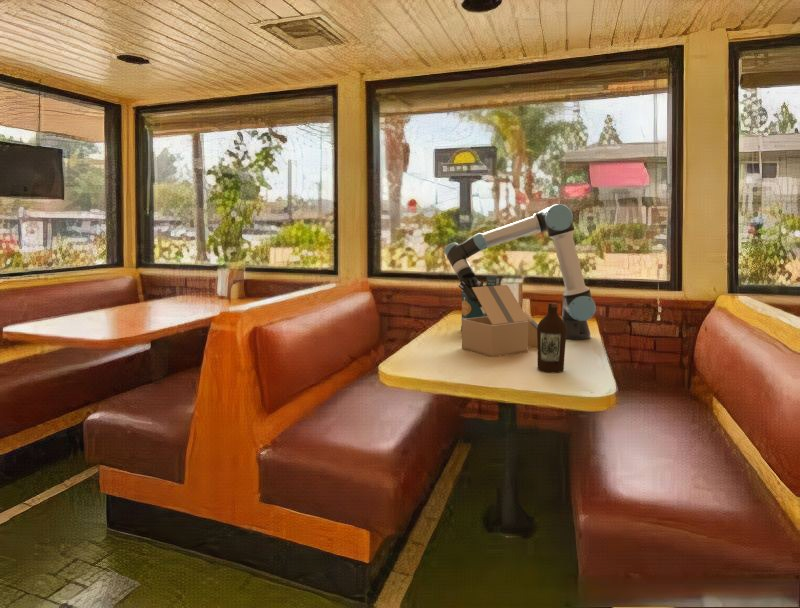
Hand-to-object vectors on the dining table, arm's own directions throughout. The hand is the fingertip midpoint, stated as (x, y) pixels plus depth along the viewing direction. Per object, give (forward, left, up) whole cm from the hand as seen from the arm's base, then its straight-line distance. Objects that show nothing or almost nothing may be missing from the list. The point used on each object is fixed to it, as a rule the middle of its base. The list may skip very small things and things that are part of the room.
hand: (486, 312), depth 242 cm
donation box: (+17, -36, -16) cm, 43 cm away
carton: (-5, +2, -16) cm, 17 cm away
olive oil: (-35, +25, -16) cm, 45 cm away
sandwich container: (-20, -17, -16) cm, 31 cm away
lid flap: (-7, +3, +4) cm, 9 cm away
